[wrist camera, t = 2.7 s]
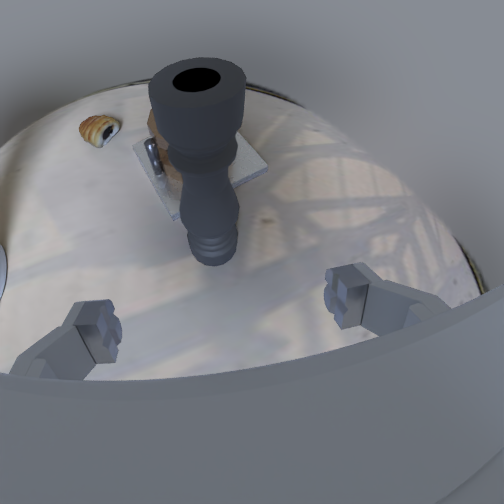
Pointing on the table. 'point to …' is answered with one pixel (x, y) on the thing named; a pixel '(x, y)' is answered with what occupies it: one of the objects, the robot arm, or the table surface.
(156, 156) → the collar stand
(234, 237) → the candle holder
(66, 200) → the table surface
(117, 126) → the pastry
